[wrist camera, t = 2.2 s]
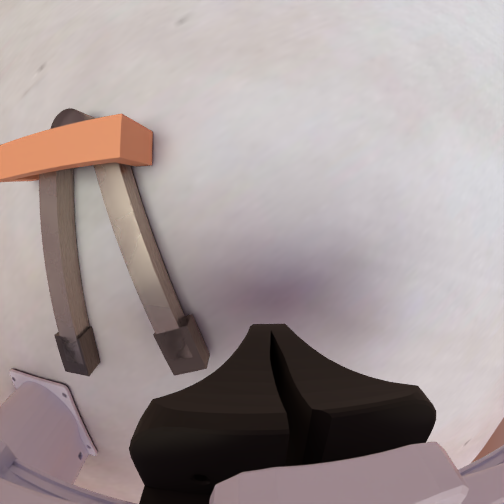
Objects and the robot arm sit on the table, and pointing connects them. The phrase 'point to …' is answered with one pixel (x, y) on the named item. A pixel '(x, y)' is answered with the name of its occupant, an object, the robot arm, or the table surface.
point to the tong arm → (150, 271)
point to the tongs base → (65, 263)
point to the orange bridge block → (76, 148)
